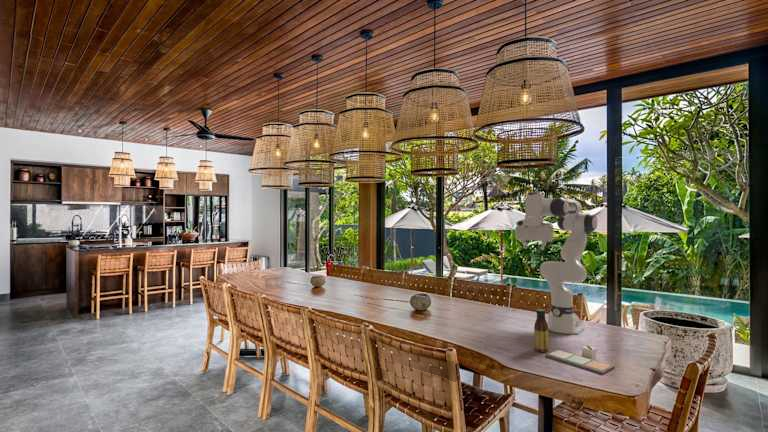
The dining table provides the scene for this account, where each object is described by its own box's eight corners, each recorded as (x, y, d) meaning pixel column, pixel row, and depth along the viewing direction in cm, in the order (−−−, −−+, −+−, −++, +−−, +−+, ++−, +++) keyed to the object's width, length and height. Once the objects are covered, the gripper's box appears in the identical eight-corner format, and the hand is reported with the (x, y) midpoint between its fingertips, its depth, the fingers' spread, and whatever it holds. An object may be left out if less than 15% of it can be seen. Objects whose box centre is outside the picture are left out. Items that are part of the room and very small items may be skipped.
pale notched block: (586, 355, 182) (586, 344, 182) (596, 357, 179) (596, 347, 179) (581, 357, 180) (582, 346, 180) (591, 360, 176) (592, 349, 176)
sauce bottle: (544, 348, 190) (545, 308, 190) (550, 353, 184) (551, 311, 184) (531, 348, 190) (532, 308, 190) (537, 353, 184) (537, 311, 184)
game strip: (558, 351, 187) (558, 348, 186) (614, 368, 167) (614, 365, 167) (545, 356, 179) (545, 354, 179) (602, 374, 159) (602, 371, 159)
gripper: (556, 223, 196) (555, 250, 196) (519, 222, 212) (519, 247, 212) (549, 223, 192) (549, 251, 192) (513, 222, 208) (512, 247, 208)
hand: (533, 249), depth 202 cm, fingers open, 8 cm apart
